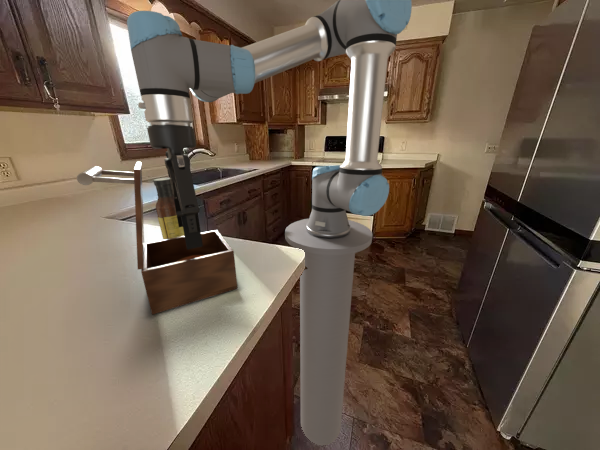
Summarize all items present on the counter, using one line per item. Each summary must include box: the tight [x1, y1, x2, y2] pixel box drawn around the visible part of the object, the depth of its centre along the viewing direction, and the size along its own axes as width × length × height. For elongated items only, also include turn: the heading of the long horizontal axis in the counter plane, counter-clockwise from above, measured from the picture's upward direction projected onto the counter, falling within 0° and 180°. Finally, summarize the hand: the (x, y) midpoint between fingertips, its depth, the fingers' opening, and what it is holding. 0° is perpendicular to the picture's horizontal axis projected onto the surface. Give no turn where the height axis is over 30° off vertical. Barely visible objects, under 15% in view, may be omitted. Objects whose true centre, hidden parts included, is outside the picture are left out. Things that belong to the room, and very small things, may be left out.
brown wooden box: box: [140, 229, 239, 315], centre depth 51 cm, size 16×14×9 cm
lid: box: [76, 161, 145, 270], centre depth 42 cm, size 16×14×8 cm
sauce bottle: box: [153, 177, 184, 240], centre depth 66 cm, size 6×6×20 cm
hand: (189, 235), depth 51 cm, fingers open, 13 cm apart
